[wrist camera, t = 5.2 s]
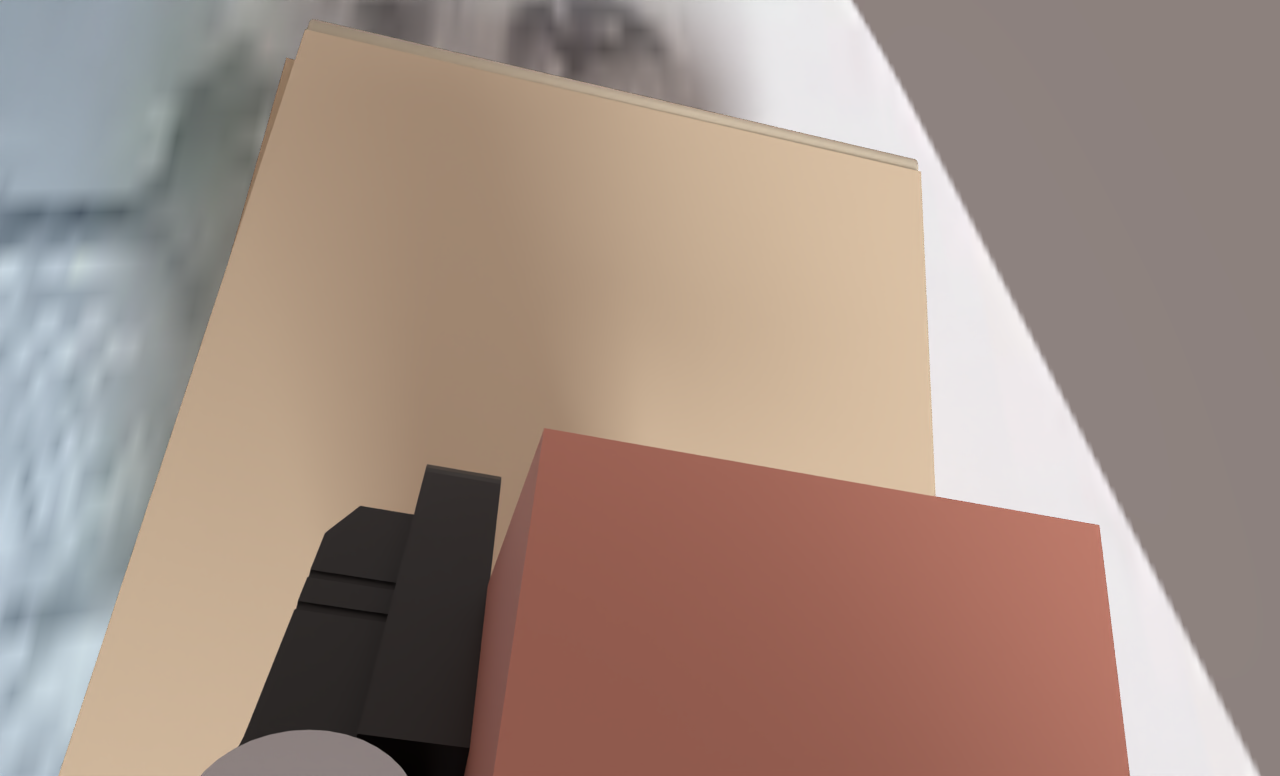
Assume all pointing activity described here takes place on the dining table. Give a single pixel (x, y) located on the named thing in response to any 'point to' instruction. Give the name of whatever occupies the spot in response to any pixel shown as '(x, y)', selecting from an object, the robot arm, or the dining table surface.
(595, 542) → the flap
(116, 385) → the dining table surface
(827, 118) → the dining table surface
